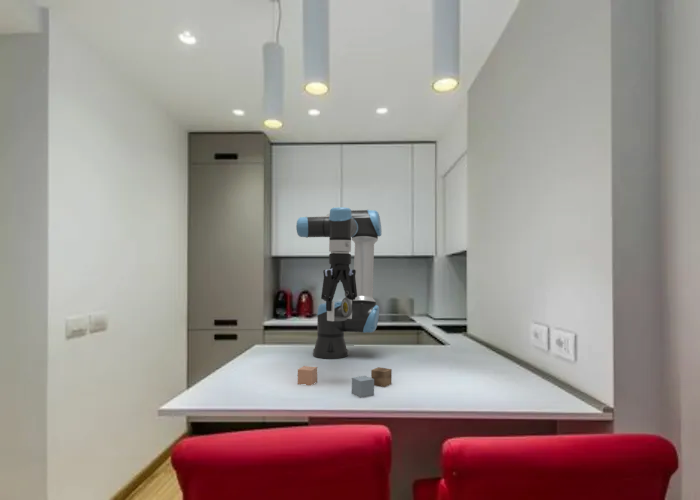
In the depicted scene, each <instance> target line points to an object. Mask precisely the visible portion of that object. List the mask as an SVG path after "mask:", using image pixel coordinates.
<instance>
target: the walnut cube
mask: <svg viewBox="0 0 700 500" xmlns="http://www.w3.org/2000/svg"><path fill="white" fill-rule="evenodd" d="M370 372H371V375H370V378H372V379H374V387H380V388H381V387H382V388H386V387H388V386H390V385H392V379H393V378H392V374H393V373H392V368H386V367H378V366H377V367H376V368H374V369H371V370H370Z"/></svg>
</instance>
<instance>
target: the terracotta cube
mask: <svg viewBox="0 0 700 500" xmlns="http://www.w3.org/2000/svg"><path fill="white" fill-rule="evenodd" d="M315 382H316V383H318V366H307V365H306V366H305V365H303V366H301V367H299V368H297V385H301V384H306V385H305V386H311V385H312V384H313V385H315V384H316V383H315ZM314 383H315V384H314ZM313 385H312V386H313Z"/></svg>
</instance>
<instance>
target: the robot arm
mask: <svg viewBox="0 0 700 500" xmlns="http://www.w3.org/2000/svg"><path fill="white" fill-rule="evenodd" d="M295 227H296V233H297V235H298V237H299V238H329V239H328V241H329V244H328V245H329V246H328V248H329V249H328V251H329V252H330V253H329V254H328V263H329V265H330V267H329V269H324V270H323V280H322V281H323V282H322V289H321V300H323V301H324V302H323V303H320V304H319V305H318V307H317V314H316V316H317V325H316V326H317V330H316V331H317V334H316V335H317V336H316V337H317V338H316V340H315V344H314V348H313V350H312V356H313V357H315V358H318V359H319V358H320V359H326V360H327V359H329V360H330V359H331V360H332V359H334V360H335V359H342V358H346V357H348V355H349V349H348V348H347V344H346V340H345V333H348V332H349V333H363V334H366V333H374V332H375V331H376V329H377V328H378V323H379V317H380V306H379V305H377V301H376V299H374V298H373V294H374V293H373V292H374V290H373V288H374V263H375V262H374V259H375V258H374V257H375V255H374V254H375V244H376V243H377V242H378V241H379V240H378V239H379V237H382V222H381V217H380V214H379V212H378V211H377V210H375V209H374V210H373V209H371V210H370V209H364V210H363V209H361V210H360V209H359V210H358V209H357V210H353V209H351V208H349V207H342V206H340V207H339V206H338V207H332V208H330V210H329V213H328V214H326V215H320V216H319V215H318V216H302V217H301V216H300V217H298V219H297V220H296V226H295ZM352 241H353V243H354V261H353V269H352V268H350V265H352V254H351V251H352ZM340 282H341V285H342V288H343V291H344V295H345V294H346V293H347V294H348V292H349V294H348V295H347V298H348V299H350V301H351V304H352V313H351V315H350V316H349V317H347V320H345V321H334V316H341V317H344V316H343V314H342V311H341V303H342V300H338V301H334V297H335V294H336V290H337V287H338V284H339V283H340ZM346 291H348V292H346ZM345 292H346V293H345ZM347 306H348V305H347ZM347 310H348V309H347Z"/></svg>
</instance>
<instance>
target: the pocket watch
mask: <svg viewBox="0 0 700 500" xmlns="http://www.w3.org/2000/svg"><path fill="white" fill-rule="evenodd" d="M346 292H348V291H346ZM346 292H345V291H344V296H345V297H343V298H342V300H341V301H342V303H341V311H342V314H343V316H344V317H341V316H334V321H345V320H347V317H349V316H350V315H351V313H352V304H351V301H350V299H348V298H347V295H348V294H349V292H348V294H347V293H346ZM345 293H346V294H345ZM347 305H348V306H347ZM347 309H348V310H347Z"/></svg>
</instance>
